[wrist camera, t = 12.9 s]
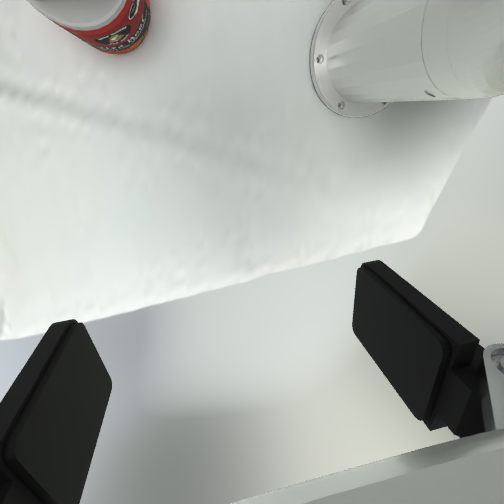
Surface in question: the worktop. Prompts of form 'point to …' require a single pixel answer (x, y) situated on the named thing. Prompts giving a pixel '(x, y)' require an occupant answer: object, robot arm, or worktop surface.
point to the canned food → (100, 21)
